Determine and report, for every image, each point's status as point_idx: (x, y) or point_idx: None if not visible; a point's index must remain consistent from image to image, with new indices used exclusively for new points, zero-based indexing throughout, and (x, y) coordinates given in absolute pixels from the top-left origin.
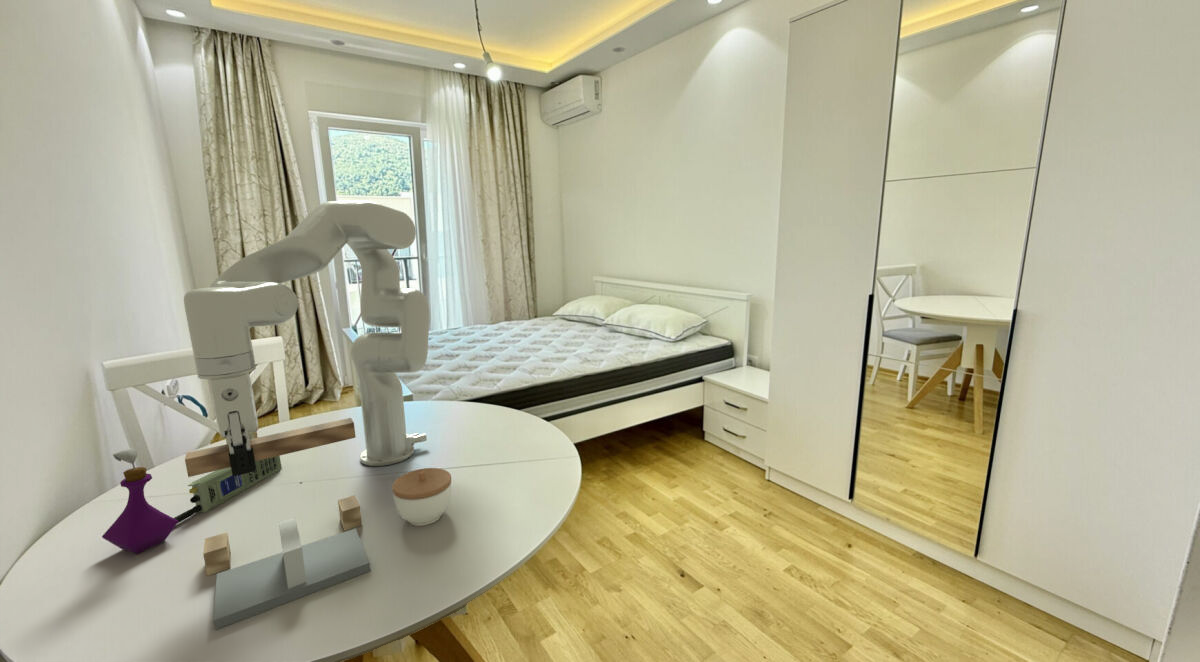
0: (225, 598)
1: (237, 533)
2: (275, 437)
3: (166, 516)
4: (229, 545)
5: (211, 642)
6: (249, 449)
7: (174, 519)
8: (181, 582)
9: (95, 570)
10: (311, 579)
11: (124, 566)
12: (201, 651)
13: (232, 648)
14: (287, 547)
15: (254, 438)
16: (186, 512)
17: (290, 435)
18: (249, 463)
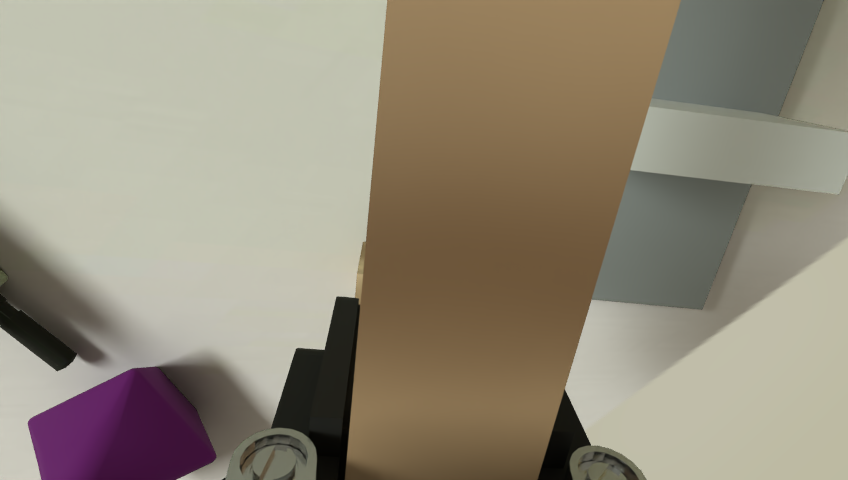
0: (638, 284)
1: (244, 214)
2: (520, 251)
3: (119, 408)
4: (364, 253)
5: (721, 304)
6: (628, 469)
7: (130, 382)
8: None
9: (222, 469)
10: (761, 98)
11: (245, 429)
12: (731, 320)
13: (780, 276)
14: (817, 175)
15: (357, 423)
16: (21, 333)
17: (612, 76)
18: None
